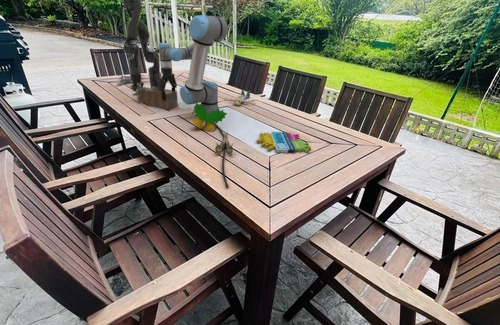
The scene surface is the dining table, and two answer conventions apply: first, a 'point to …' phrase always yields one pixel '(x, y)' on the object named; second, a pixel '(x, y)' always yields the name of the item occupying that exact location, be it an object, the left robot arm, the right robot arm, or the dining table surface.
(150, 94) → the large taupe box
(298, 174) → the dining table surface
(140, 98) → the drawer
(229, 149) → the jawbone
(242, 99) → the toy
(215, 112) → the ornament
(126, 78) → the airplane
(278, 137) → the sign
